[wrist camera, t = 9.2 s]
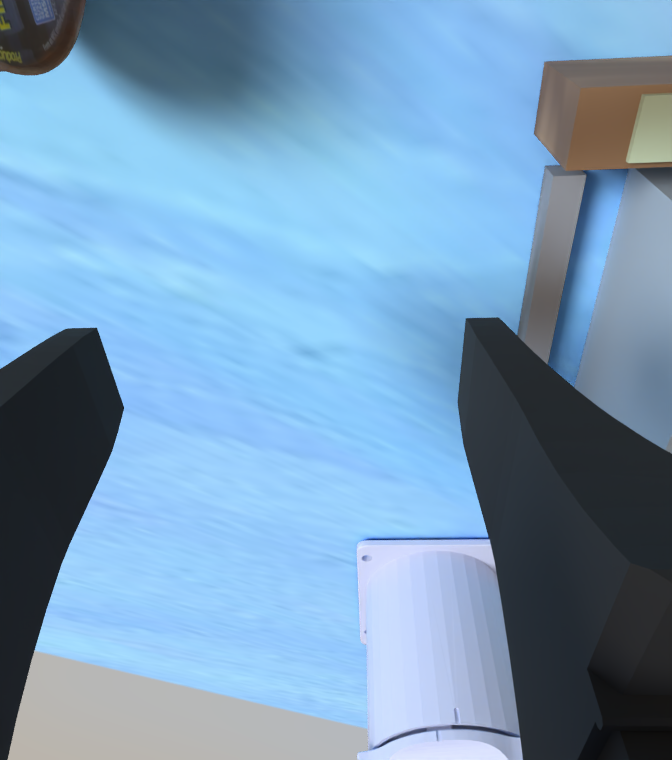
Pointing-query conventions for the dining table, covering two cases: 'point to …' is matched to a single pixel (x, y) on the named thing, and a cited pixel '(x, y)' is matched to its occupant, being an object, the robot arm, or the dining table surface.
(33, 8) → the tin
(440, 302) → the dining table surface
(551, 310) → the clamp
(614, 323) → the grey rectangular block
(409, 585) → the robot arm
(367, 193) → the dining table surface
